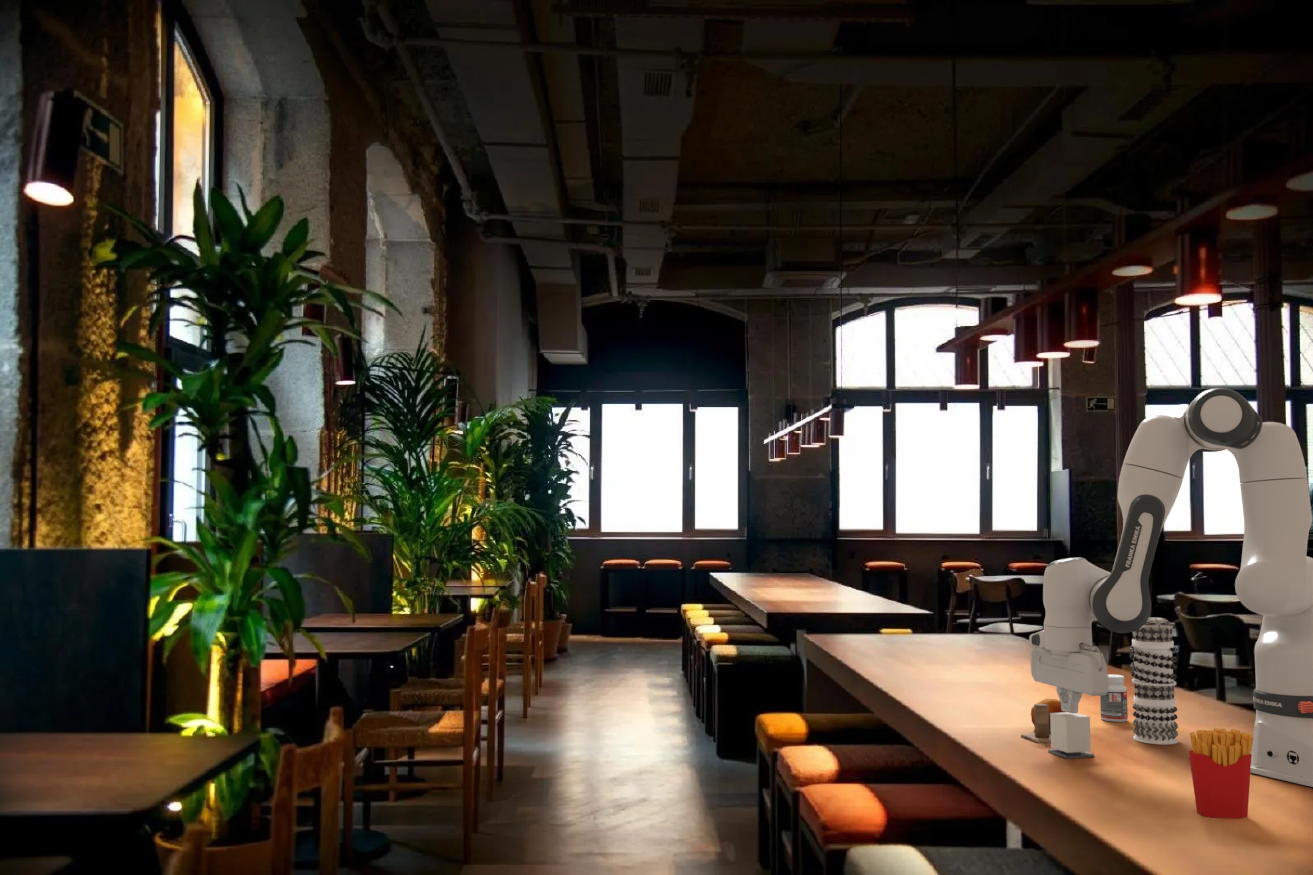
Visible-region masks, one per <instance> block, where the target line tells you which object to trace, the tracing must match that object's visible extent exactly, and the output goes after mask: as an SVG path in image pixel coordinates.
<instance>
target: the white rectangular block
mask: <svg viewBox="0 0 1313 875" xmlns="http://www.w3.org/2000/svg"><path fill="white" fill-rule="evenodd" d="M1050 725H1051V732H1050V735H1051V742H1050V748H1052V749H1058V750H1061V751H1064V752H1066V753H1072V752H1091V750H1092V749H1091V748H1092V747H1091V746H1092V745H1091V716H1089V715H1086V714H1082V713H1080V712H1077V713H1069V712H1061V713H1050Z"/></svg>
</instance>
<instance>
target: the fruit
mask: <svg viewBox="0 0 1313 875" xmlns="http://www.w3.org/2000/svg"><path fill="white" fill-rule="evenodd" d="M1036 704H1046V705H1048V711H1049V733H1051V725H1050V713H1061V712H1065V711H1062V710H1061V701H1060V699H1057V698H1045V699H1042V700H1041V701H1039V702H1037V703H1036ZM1030 717H1031V723H1032V724H1033V727H1035V719H1034V705H1033V706H1032V707H1031V709H1030Z"/></svg>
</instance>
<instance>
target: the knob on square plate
mask: <svg viewBox="0 0 1313 875" xmlns="http://www.w3.org/2000/svg"><path fill="white" fill-rule="evenodd" d="M1033 706H1034V719H1035V726H1034V733H1025V734H1024V733H1023V734H1021V735H1020V738H1022V737H1023V738H1022V739H1026V740H1029V741H1032V742H1034V743H1037V744H1040V743H1041V744H1042V743H1051V733H1050V732H1049V711H1048V705H1046V704H1037V703H1034V704H1033Z"/></svg>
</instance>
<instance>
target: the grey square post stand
mask: <svg viewBox="0 0 1313 875" xmlns="http://www.w3.org/2000/svg"><path fill="white" fill-rule="evenodd" d="M1047 751H1048V752H1047V753H1050V754H1053V755H1055V756H1058V757H1061V758H1064V759H1066V760H1067V759H1079V758H1081V759H1082V758H1093V757H1095V754H1094V753H1092V752H1090V751H1087V752H1072V753H1066V752H1064V751H1061V750H1058V749H1055V748H1052V749H1051V748H1050V749H1049V748H1048V749H1047Z"/></svg>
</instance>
